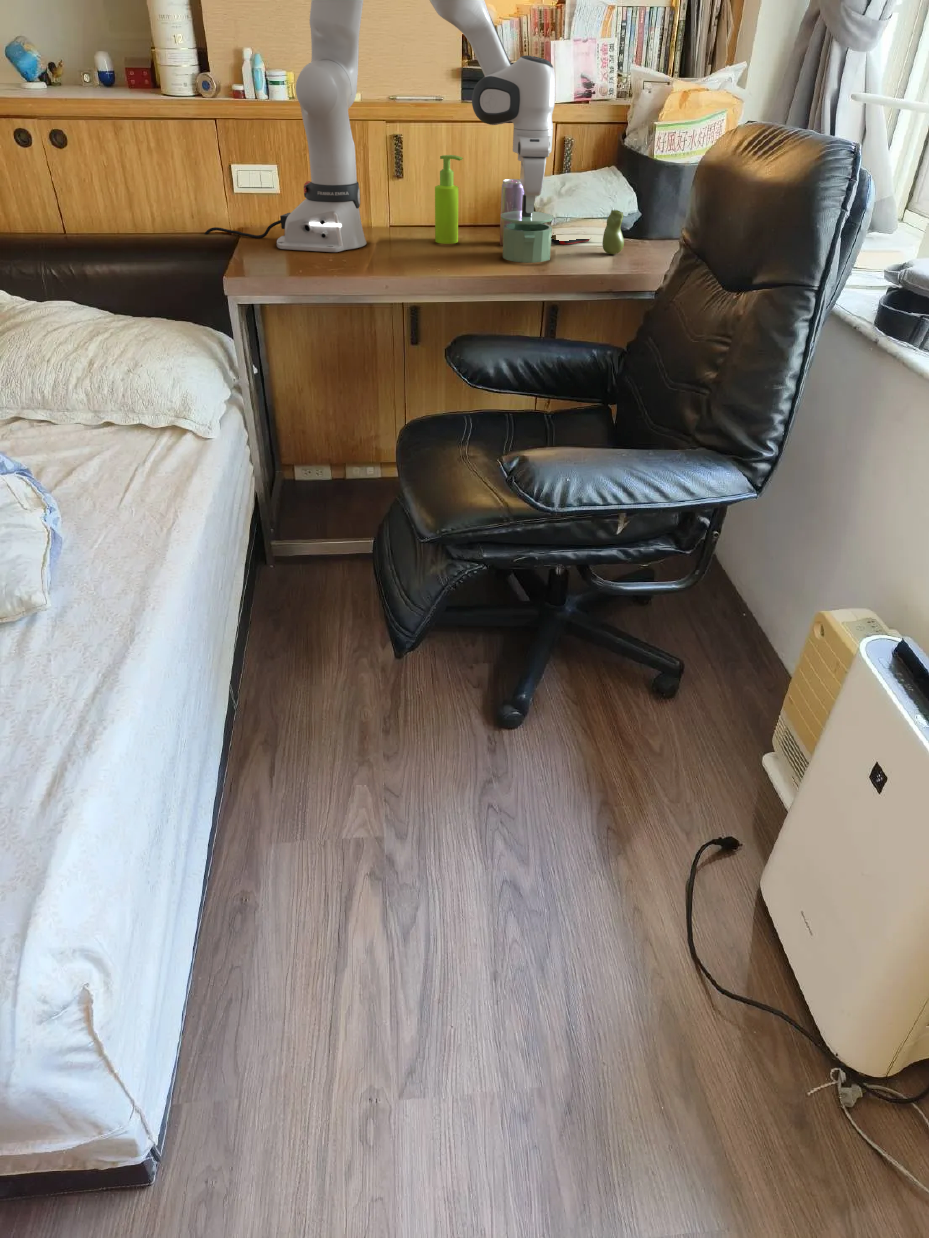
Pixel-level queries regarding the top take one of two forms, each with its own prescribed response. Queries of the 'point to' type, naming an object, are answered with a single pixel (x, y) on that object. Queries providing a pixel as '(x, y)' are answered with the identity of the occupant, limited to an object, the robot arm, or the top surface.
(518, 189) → the beverage can
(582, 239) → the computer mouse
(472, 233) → the top surface
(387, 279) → the top surface
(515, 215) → the pot lid
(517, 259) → the pot
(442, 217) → the soap dispenser
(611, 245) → the pear
